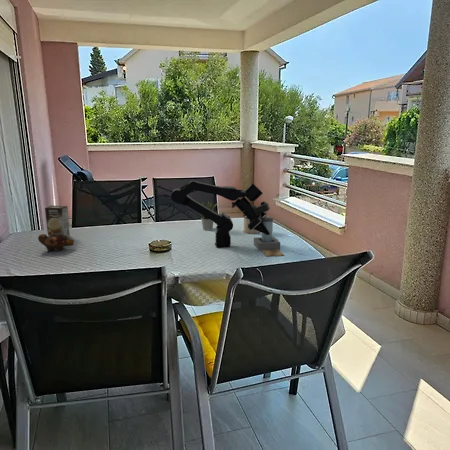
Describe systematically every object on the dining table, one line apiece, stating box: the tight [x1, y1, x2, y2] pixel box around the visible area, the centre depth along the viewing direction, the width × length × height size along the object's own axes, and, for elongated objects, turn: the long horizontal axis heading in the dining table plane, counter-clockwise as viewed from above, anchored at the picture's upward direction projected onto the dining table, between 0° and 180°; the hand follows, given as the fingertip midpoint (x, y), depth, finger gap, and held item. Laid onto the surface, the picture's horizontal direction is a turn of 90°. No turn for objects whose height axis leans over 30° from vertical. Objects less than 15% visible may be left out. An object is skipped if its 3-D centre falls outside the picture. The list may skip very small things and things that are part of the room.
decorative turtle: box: [38, 233, 75, 252], centre depth 179 cm, size 10×15×8 cm, turn 111°
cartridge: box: [261, 216, 274, 242], centre depth 182 cm, size 5×5×14 cm
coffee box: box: [44, 205, 71, 238], centre depth 199 cm, size 9×6×16 cm
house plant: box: [199, 200, 219, 231], centre depth 214 cm, size 14×14×16 cm
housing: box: [253, 236, 281, 252], centre depth 183 cm, size 10×10×4 cm
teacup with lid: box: [243, 216, 260, 235], centre depth 210 cm, size 12×9×12 cm
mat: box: [261, 249, 285, 258], centre depth 174 cm, size 8×8×1 cm
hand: (270, 233), depth 181 cm, fingers closed on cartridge, 5 cm apart
